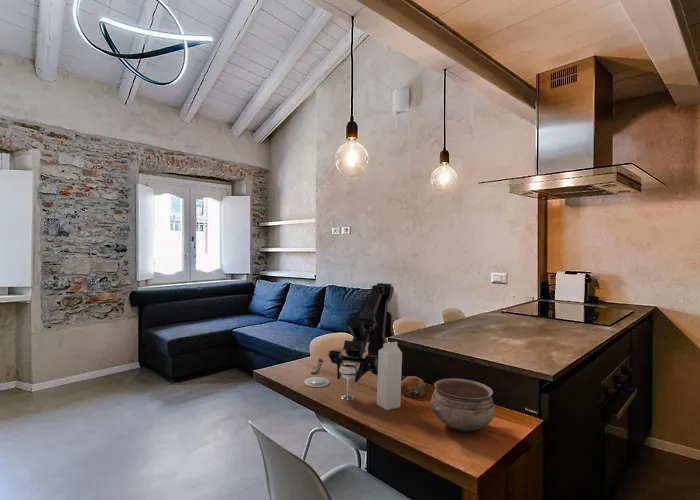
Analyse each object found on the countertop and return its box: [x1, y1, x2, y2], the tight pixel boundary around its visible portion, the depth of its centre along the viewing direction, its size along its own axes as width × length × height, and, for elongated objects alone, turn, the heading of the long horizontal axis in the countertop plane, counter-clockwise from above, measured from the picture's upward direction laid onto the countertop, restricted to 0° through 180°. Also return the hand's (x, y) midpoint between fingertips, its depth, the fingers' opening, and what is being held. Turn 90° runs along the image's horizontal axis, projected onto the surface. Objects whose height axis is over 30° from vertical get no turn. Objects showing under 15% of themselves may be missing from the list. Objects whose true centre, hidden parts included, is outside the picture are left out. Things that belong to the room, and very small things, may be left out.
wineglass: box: [339, 361, 359, 401], centre depth 141 cm, size 7×7×12 cm
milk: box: [376, 341, 403, 411], centre depth 135 cm, size 6×6×22 cm
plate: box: [304, 376, 330, 388], centre depth 155 cm, size 10×10×1 cm
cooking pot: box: [430, 378, 496, 433], centre depth 120 cm, size 25×19×12 cm
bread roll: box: [401, 375, 427, 398], centre depth 148 cm, size 10×10×8 cm
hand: (346, 380), depth 140 cm, fingers closed on wineglass, 6 cm apart
